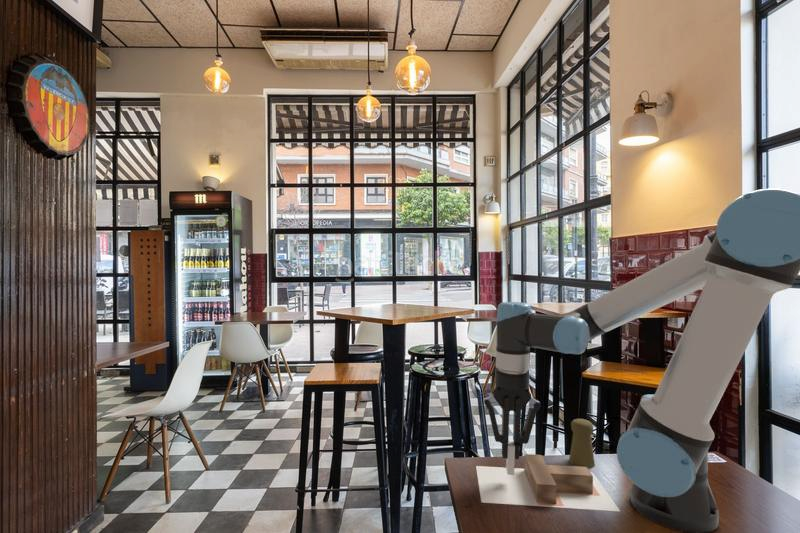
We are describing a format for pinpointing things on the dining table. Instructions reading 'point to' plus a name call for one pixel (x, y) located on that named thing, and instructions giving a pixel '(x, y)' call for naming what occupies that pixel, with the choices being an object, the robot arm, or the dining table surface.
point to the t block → (555, 479)
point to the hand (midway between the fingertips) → (510, 471)
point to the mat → (518, 492)
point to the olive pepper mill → (582, 444)
